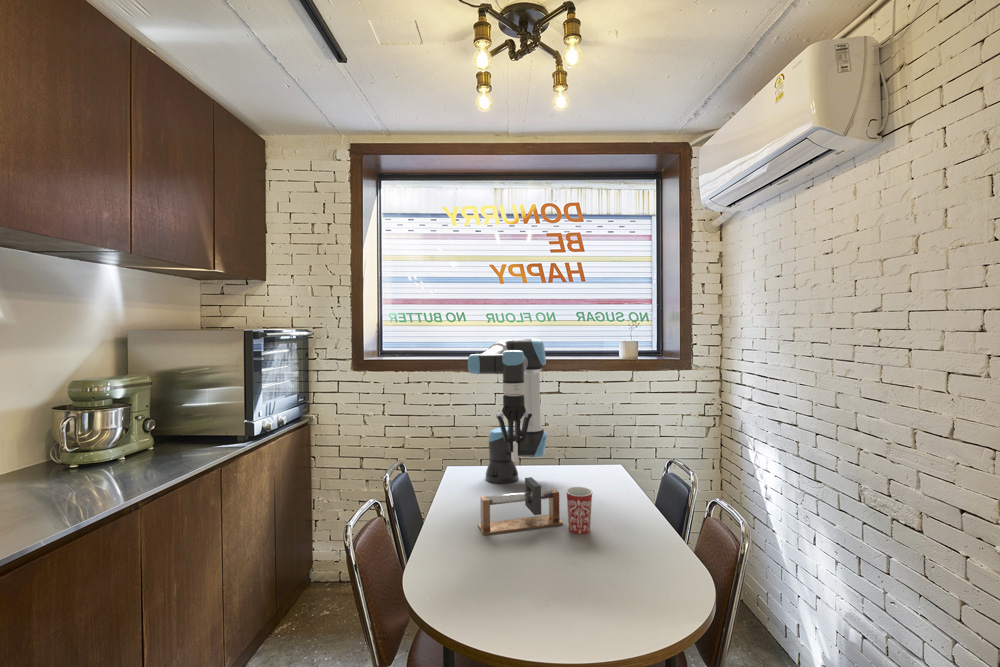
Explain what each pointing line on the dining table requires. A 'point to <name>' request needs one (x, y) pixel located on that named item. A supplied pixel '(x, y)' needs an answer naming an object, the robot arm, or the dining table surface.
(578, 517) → the mug
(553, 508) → the pipe rig
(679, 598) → the dining table surface
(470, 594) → the dining table surface
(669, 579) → the dining table surface
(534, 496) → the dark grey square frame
